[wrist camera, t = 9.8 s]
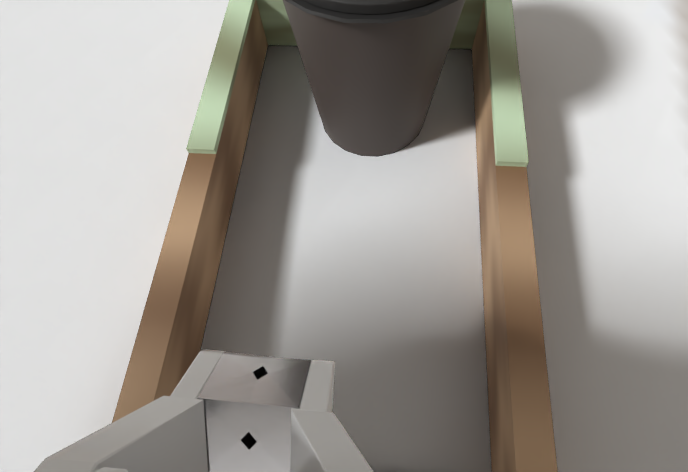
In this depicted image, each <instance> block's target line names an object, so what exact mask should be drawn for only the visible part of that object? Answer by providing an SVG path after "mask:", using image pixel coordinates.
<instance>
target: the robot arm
mask: <svg viewBox="0 0 688 472" xmlns="http://www.w3.org/2000/svg"><path fill="white" fill-rule="evenodd" d="M334 376H335V363H334V361H327V360H303V359H290V358H278V357H269V356H262V355H254V354H245V353H236V352H228V351H226V352H224V351H217V350H207V349H204V350H202V351H200V352H199V353H198V355H197V356H196V358H195V359H194V361H193V362H192V364H191V365H190V367H189V368H188V370H187V371H186V373H185V374H184V376H183V377H182V379H181V380H180V382H179V383H178V385H177V386H176V388H175V389H174V391H173V392H172V394H171V395H170V396H162V397H160V398H158V399H156V400H154V401H152V402H150V403H149V404H147V405H145V406H143V407H141V408H139V409H137V410H135V411H134V412H132V413H130V414H128V415H126V416H124V417H122V418H120V419H119V420H117V421H115V422H113V423H111V424H109V425H107V426H105V427H104V428H102V429H100V430H98V431H96V432H94V433H92V434H90V435H89V436H87V437H85V438H83V439H81V440H79V441H77V442H75V443H73V444H72V445H70V446H68V447H66V448H64V449H62V450H60V451H58V452H57V453H55V454H53V455H51V456H49V457H47V458H46V459H45V460H44V461H43V462H42V463H41V464H40V465H39V466H38V468H37V469H36V470H35V471H34V472H374V471H373V470H372V468H371V467H370V466H369V464H368V463H367V461H366V460H365V458H364V457H363V455H362V454H361V452H360V451H359V449H358V448H357V446H356V445H355V443H354V442H353V440H352V439H351V437H350V436H349V435H348V433H347V432H346V430H345V429H344V427H343V426H342V424H341V423H340V421H339V420H338V418H337V417H336V415H335V414H334V413H333V412H332V409H333V393H334Z"/></svg>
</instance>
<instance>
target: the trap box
mask: <svg viewBox="0 0 688 472" xmlns="http://www.w3.org/2000/svg"><path fill="white" fill-rule="evenodd" d="M268 45H282V46H297V43H296V40H295V37H294V34H293V31H292V27H291V24H290V21H289V18H288V15H287V12H286V9H285V6H284V3H283V0H229V3H228V7H227V10H226V13H225V17H224V20H223V24H222V27H221V31H220V34H219V38H218V41H217V44H216V48H215V51H214V55H213V58H212V62H211V65H210V69H209V72H208V76H207V79H206V82H205V86H204V89H203V93H202V96H201V100H200V103H199V107H198V110H197V113H196V117H195V120H194V124H193V127H192V131H191V134H190V138H189V141H188V145H187V148H186V149H187V151H188V152H189V155H188V158H187V162H186V165H185V169H184V172H183V176H182V179H181V183H180V186H179V190H178V193H177V197H176V200H175V204H174V207H173V211H172V214H171V218H170V221H169V225H168V228H167V232H166V235H165V239H164V242H163V246H162V249H161V253H160V256H159V260H158V263H157V267H156V270H155V274H154V277H153V281H152V284H151V288H150V291H149V295H148V298H147V302H146V305H145V309H144V312H143V316H142V319H141V323H140V326H139V330H138V333H137V337H136V340H135V344H134V347H133V351H132V354H131V358H130V361H129V365H128V368H127V372H126V375H125V379H124V382H123V386H122V389H121V393H120V396H119V400H118V403H117V407H116V410H115V414H114V417H113V421H112V423H113V422H115V421H117V420H119V419H120V418H122V417H124V416H126V415H128V414H130V413H132V412H134V411H135V410H137V409H139V408H141V407H143V406H145V405H147V404H149V403H150V402H152V401H154V400H156V399H158V398H160V397H162V396H170V395H171V394H172V392H173V391H174V389H175V388H176V386H177V385H178V383H179V382H180V380H181V379H182V377H183V376H184V374H185V373H186V371H187V370H188V368H189V367H190V365H191V364H192V362H193V361H194V359H195V358H196V356H197V355H198V353H199V352H200V349H201V345H202V340H203V336H204V331H205V327H206V322H207V318H208V313H209V309H210V304H211V300H212V295H213V291H214V286H215V282H216V277H217V273H218V268H219V264H220V259H221V255H222V250H223V246H224V241H225V237H226V232H227V228H228V223H229V219H230V214H231V210H232V205H233V201H234V196H235V192H236V187H237V182H238V178H239V173H240V169H241V164H242V160H243V155H244V151H245V146H246V142H247V137H248V133H249V128H250V124H251V119H252V115H253V110H254V106H255V101H256V97H257V92H258V88H259V83H260V79H261V74H262V70H263V65H264V61H265V56H266V52H267V47H268ZM449 49H472V63H473V84H474V105H475V127H476V148H477V169H478V191H479V212H480V234H481V255H482V276H483V298H484V319H485V340H486V362H487V383H488V405H489V426H490V447H491V469H492V472H558V471H557V462H556V452H555V442H554V432H553V422H552V413H551V403H550V393H549V383H548V374H547V364H546V354H545V344H544V335H543V325H542V315H541V305H540V296H539V286H538V276H537V266H536V256H535V247H534V237H533V227H532V217H531V208H530V198H529V188H528V178H527V169H526V167H527V165H528V163H529V160H528V151H527V141H526V132H525V122H524V113H523V103H522V94H521V84H520V75H519V66H518V56H517V47H516V37H515V28H514V18H513V9H512V0H465V3H464V6H463V9H462V12H461V15H460V17H459V20H458V23H457V26H456V29H455V32H454V35H453V38H452V41H451V44H450V47H449Z"/></svg>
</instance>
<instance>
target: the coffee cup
mask: <svg viewBox="0 0 688 472" xmlns="http://www.w3.org/2000/svg"><path fill="white" fill-rule="evenodd" d="M283 3H284V6H285V9H286V12H287V15H288V18H289V21H290V24H291V27H292V31H293V34H294V37H295V40H296V43H297V46H298V49H299V52H300V55H301V58H302V61H303V64H304V67H305V71H306V74H307V77H308V80H309V83H310V86H311V89H312V92H313V95H314V98H315V101H316V104H317V107H318V111H319V114H320V117H321V120H322V123H323V126H324V129H325V131H326V133H327V134H328V136H329V137H330V138H331V140H332V141H333V142H334V143H335V144H337V145H338V146H340V147H341V148H343V149H344V150H345V151H348V152H351V153H355V154H358V155H361V156H382V155H386V154H391V153H395V152H396V151H398V150H400V149H402V148H404V147H406V146H408V145H409V144H410V143H411V142H412V141H413V140H414V139H415V138H416V137H417V136H418V134H419V132H420V130H421V127H422V125H423V123H424V120H425V117H426V114H427V111H428V108H429V105H430V103H431V100H432V97H433V94H434V91H435V88H436V85H437V82H438V79H439V76H440V73H441V70H442V67H443V64H444V61H445V59H446V56H447V53H448V50H449V47H450V44H451V41H452V38H453V35H454V32H455V29H456V26H457V23H458V20H459V17H460V15H461V12H462V9H463V6H464V3H465V0H283Z"/></svg>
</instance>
